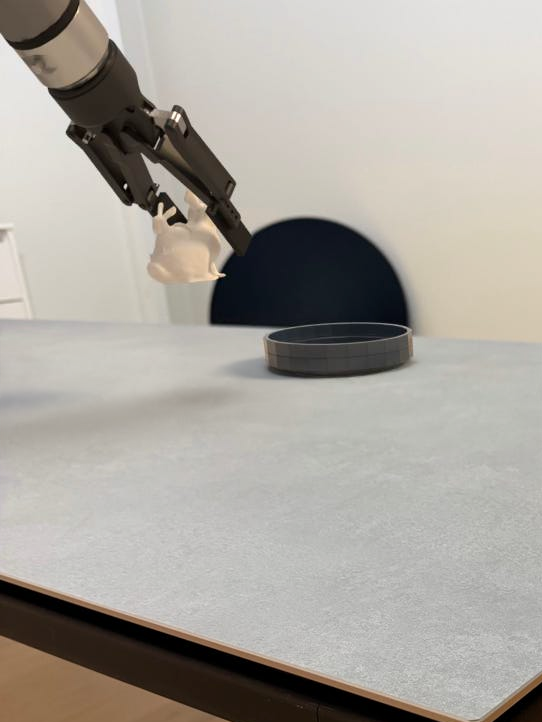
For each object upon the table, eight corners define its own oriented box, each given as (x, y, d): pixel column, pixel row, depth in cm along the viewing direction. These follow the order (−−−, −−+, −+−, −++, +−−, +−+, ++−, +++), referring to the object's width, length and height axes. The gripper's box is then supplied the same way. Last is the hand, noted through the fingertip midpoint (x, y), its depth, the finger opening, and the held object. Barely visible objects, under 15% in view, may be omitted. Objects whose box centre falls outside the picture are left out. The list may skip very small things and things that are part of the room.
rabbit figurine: (219, 276, 111) (205, 184, 107) (266, 276, 107) (253, 180, 103) (135, 286, 102) (116, 186, 98) (182, 287, 98) (165, 183, 94)
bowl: (237, 373, 122) (233, 341, 120) (318, 349, 137) (315, 320, 136) (367, 382, 115) (365, 347, 113) (437, 355, 130) (436, 325, 129)
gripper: (-17, 100, 88) (138, 272, 108) (146, 88, 81) (280, 275, 101) (16, 39, 90) (162, 219, 110) (178, 22, 83) (303, 218, 103)
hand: (218, 245), depth 106 cm, fingers closed on rabbit figurine, 6 cm apart
